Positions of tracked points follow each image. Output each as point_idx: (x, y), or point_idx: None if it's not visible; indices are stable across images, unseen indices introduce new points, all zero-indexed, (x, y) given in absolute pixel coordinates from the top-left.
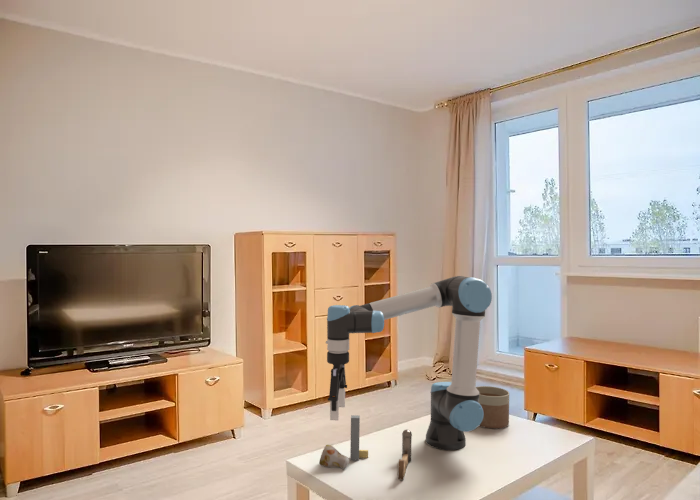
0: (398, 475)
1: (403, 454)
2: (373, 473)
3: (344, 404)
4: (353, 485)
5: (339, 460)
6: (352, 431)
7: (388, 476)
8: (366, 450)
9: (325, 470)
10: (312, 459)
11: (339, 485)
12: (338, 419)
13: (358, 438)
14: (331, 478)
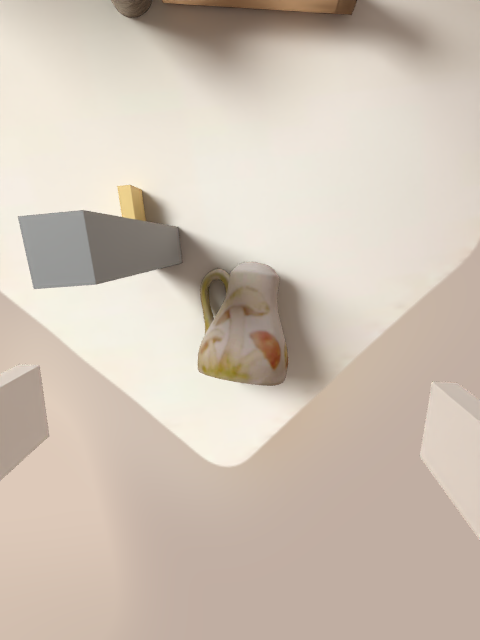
0: (356, 1)
1: None
2: (290, 147)
3: (17, 379)
4: (408, 220)
5: (275, 301)
6: (136, 262)
7: (312, 73)
8: (124, 194)
9: (287, 345)
10: (201, 404)
11: (410, 275)
12: (441, 384)
13: (146, 225)
14: (353, 313)
